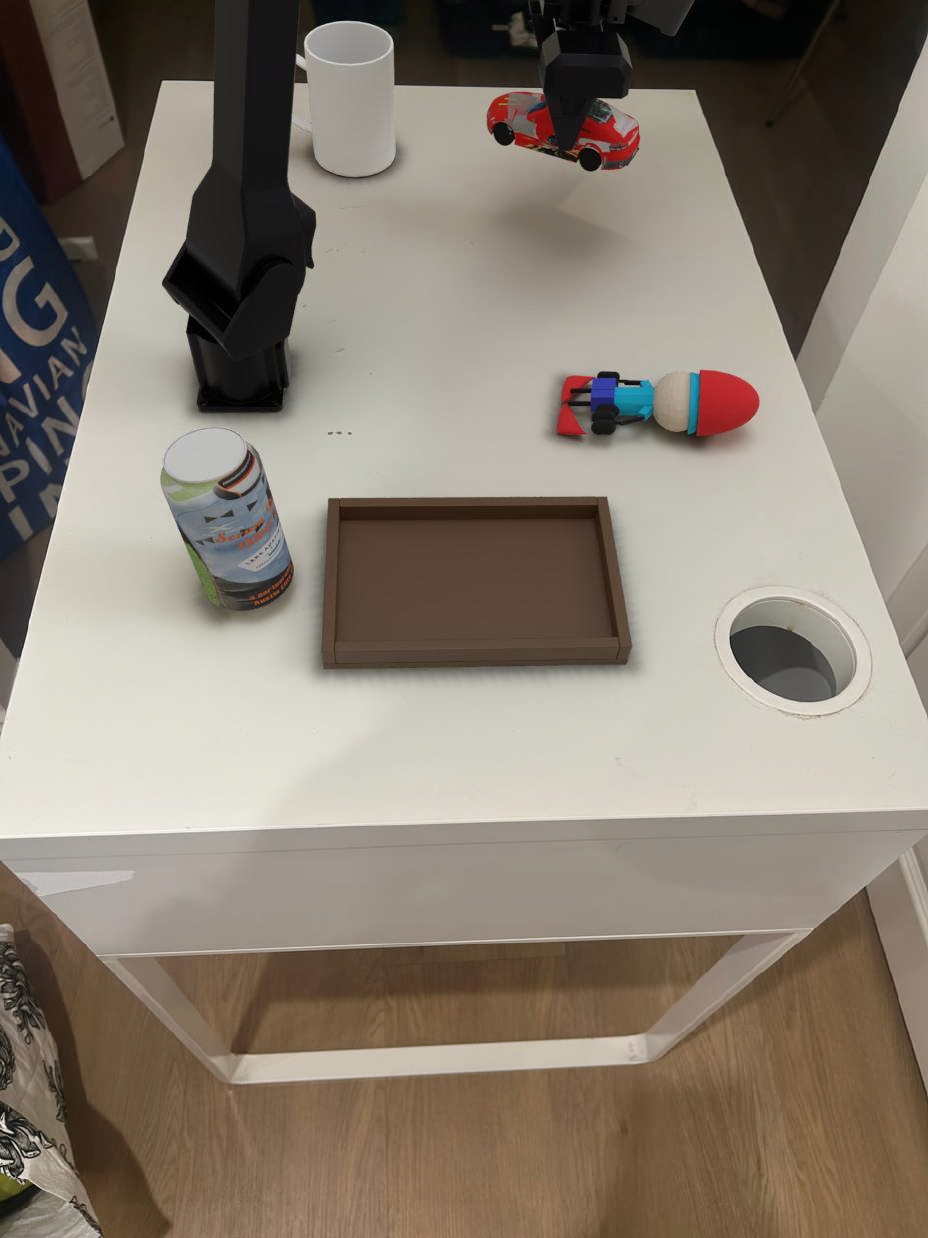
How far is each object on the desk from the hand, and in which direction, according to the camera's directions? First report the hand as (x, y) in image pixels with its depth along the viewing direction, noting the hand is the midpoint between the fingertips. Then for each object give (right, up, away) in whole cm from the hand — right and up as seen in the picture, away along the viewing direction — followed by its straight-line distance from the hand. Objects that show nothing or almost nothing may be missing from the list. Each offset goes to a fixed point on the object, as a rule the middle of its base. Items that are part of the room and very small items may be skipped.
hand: (561, 127), depth 81 cm
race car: (0, -1, +1) cm, 2 cm away
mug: (-21, +4, +14) cm, 25 cm away
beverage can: (-23, -38, -15) cm, 47 cm away
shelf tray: (-8, -39, -15) cm, 42 cm away
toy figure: (+7, -25, -5) cm, 27 cm away
